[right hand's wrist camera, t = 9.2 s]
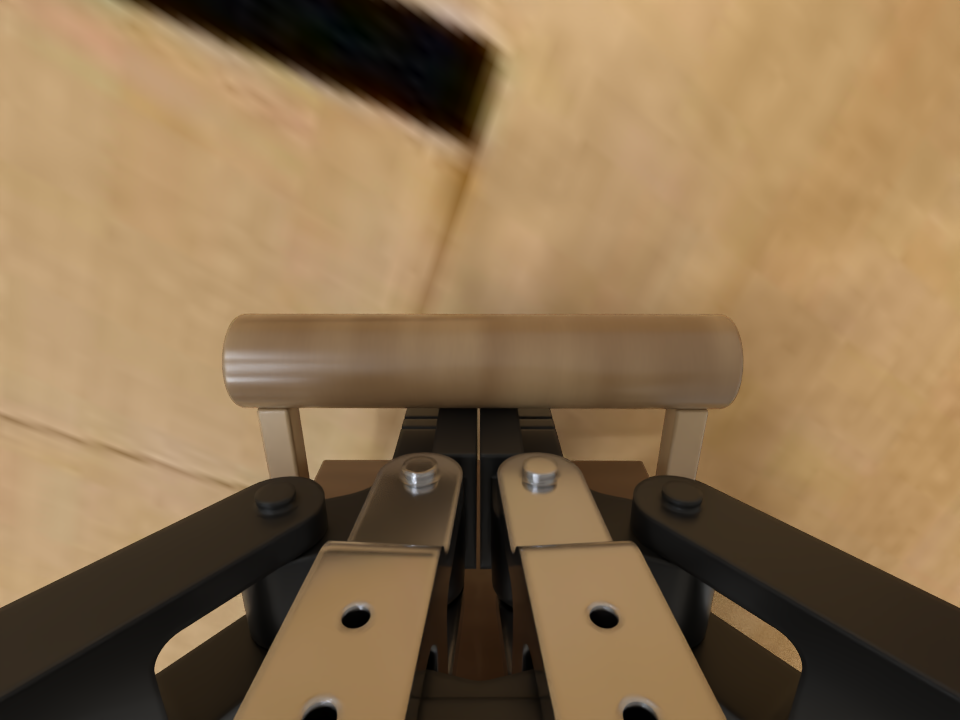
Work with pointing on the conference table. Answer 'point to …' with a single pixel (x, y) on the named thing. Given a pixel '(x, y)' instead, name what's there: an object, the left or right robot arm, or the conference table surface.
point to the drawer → (482, 394)
